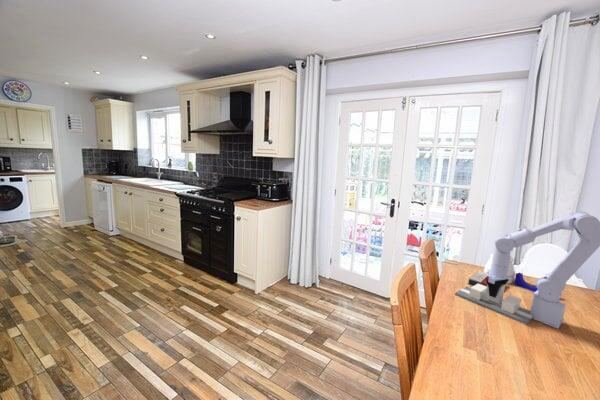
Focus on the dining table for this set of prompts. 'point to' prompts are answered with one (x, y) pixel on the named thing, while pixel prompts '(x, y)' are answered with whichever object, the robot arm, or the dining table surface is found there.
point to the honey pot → (510, 269)
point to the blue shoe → (523, 283)
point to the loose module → (499, 294)
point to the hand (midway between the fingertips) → (494, 294)
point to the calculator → (479, 278)
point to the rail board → (497, 307)
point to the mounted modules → (508, 303)
